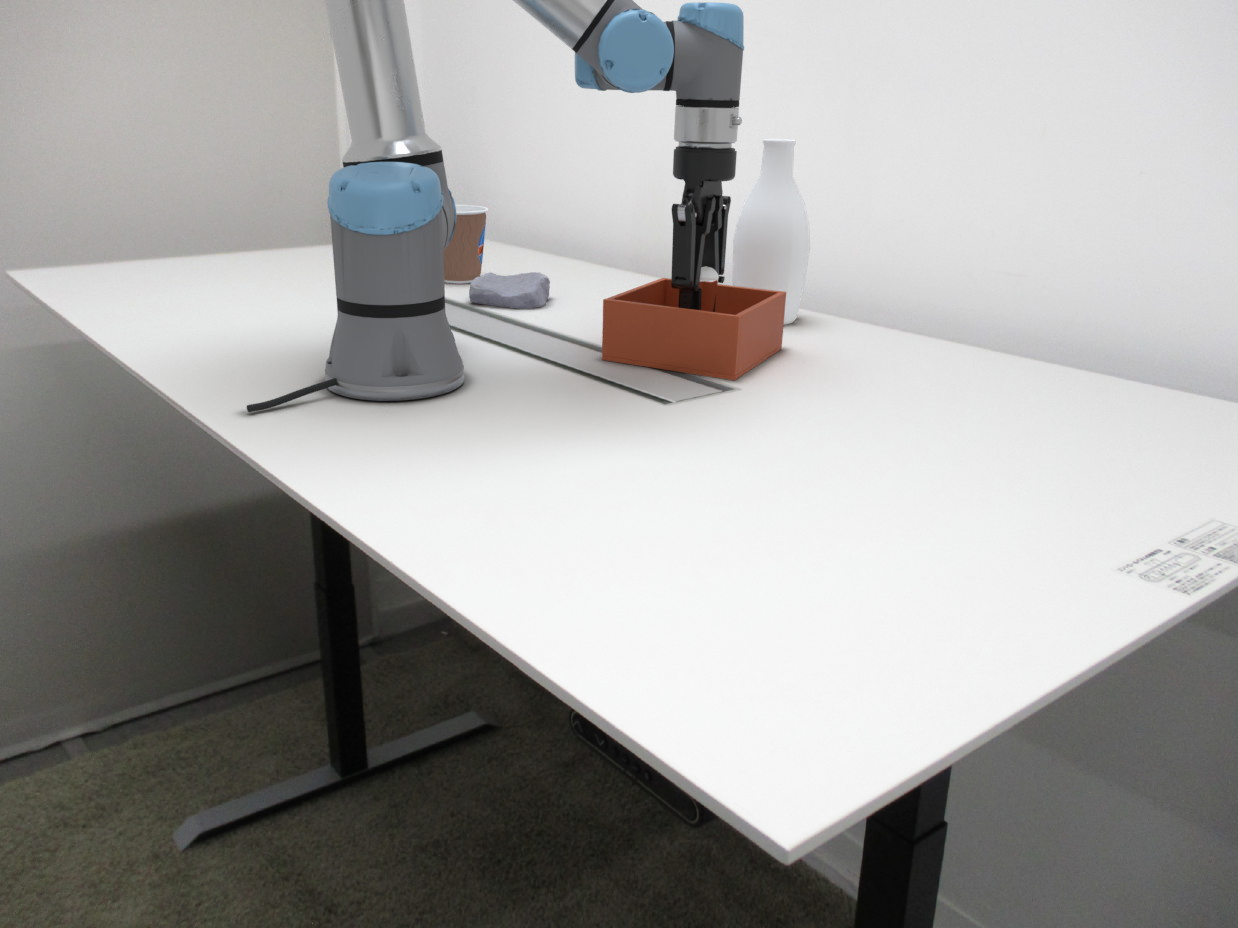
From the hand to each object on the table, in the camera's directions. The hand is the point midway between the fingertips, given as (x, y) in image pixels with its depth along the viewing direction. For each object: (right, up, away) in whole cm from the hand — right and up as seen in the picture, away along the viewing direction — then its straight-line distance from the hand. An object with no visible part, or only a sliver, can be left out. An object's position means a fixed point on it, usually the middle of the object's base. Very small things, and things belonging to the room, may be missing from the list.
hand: (695, 336), depth 128 cm
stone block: (-27, +9, +28) cm, 40 cm away
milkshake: (0, 0, 0) cm, 1 cm away
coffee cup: (-37, +15, +44) cm, 60 cm away
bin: (0, -2, +1) cm, 2 cm away
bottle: (+12, +5, +22) cm, 25 cm away
